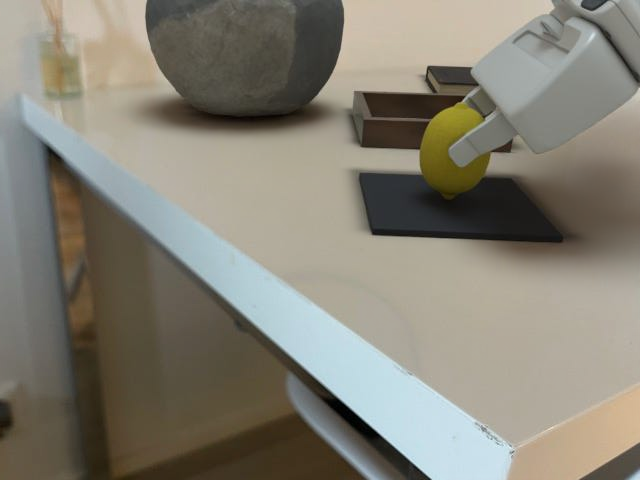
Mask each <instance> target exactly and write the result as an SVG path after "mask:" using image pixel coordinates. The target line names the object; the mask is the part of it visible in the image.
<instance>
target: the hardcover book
mask: <svg viewBox="0 0 640 480" xmlns="http://www.w3.org/2000/svg"><path fill="white" fill-rule="evenodd" d="M473 67H474V66H454V65H453V66H451V65H427V66H426V71H425V81H426V82H427V84H428V86H429V87H430V89H431V91H432V93H441V94H469V93H470V92H471V91H473V90H474V89H475V88H476V87H478V86H479V84H478V83H477V82H476V81H475V79H474V78H473V77H472V75H471V73H470V72H471V69H472V68H473Z"/></svg>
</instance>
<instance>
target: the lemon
mask: <svg viewBox="0 0 640 480" xmlns="http://www.w3.org/2000/svg"><path fill="white" fill-rule="evenodd" d="M484 121H485V119H484V118H483V117H482V116H481V115H480V114H479V113H478V112H477V111H475V110H473V109H471V108H469V107H468V105H467V104H466V103H463V102H459V103H457V104H456V105H455V106H454V107H450V108H448V109H445V110H443V111H442V112H440V113H439V114H437V115H436V116H435V117H434V118H433V119H432V120H431V121H430V123H429V124H428V126H427V128H426V130H425V133H424V136H423V139H422V143H421V147H420V149H419V157H418V159H419V168H420V169H419V170H420V172H421V175H423V177H424V178H425V180H426V182H427V183H428V184H429V185H430V186H431V187H432V188H433V189H435V190H437V191H439V192H440V193H441V194H442V196H443V197H444V198H445V199H453V198H454V197H455V196H456V195H458V194H459V193H463V192H466V191H468V190H470V189H471V188H473V187H474V186H476V185H477V184H478V183H479V182H480V180H481V179H482V177H485V175H486V172H487V169H488V167H489V164H490V160H491V155H492V151H489V152H487V153H484V154H482V155H480V156H478V157H477V158H476V159H474V160H473V161H472V162H470V163H469V164H468V165H466V166H464V167H459V166H457V165H456V163H455V162H454V161H453V160H452V159H451V157H450V156H449V154H448V151H447V146H448V144H449V143H451V142H452V141H454V140H455V139H456V138H457V137H458V136H460V135H461V134H462V133H463V132H464V133H465V134H466V133H468V132H469V131H471V130H472V129H474V128H475V127H477V126H478V125H480V124H481V123H483V122H484Z"/></svg>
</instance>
